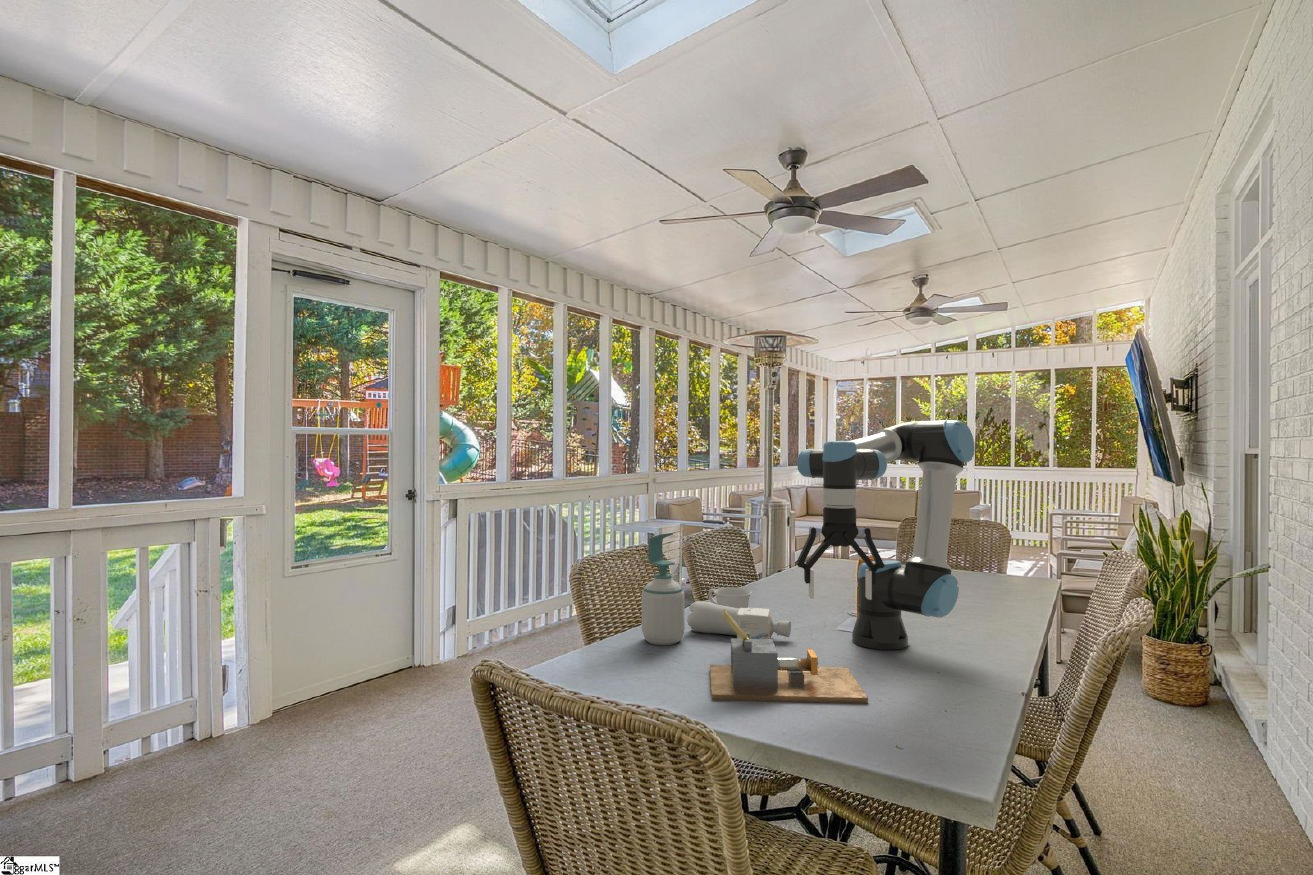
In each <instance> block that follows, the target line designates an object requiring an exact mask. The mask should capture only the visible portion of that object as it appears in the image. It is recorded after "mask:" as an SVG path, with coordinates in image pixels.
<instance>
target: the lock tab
mask: <svg viewBox="0 0 1313 875" xmlns="http://www.w3.org/2000/svg"><path fill="white" fill-rule="evenodd" d="M722 616H723V617H724V618H725V620H726V621H727V622H728V623H729V624H730V626H731V627H732V628H733V629H734V630H735V632H736V633H737V634H738V635H739V637H740V638H741V639H742V640H743V641H744V640H749V637H748V635H746V634H745V632H744V631H743V630H742V629H741V628H740V626H739V625H738V624H737V623H736V622H735V620H734V619H733V618H732V617H731V616H730V614H729V613H728V612H727V611H726V610H725V609H724V610H723V611H722Z"/></svg>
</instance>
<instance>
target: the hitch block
mask: <svg viewBox="0 0 1313 875" xmlns="http://www.w3.org/2000/svg"><path fill="white" fill-rule="evenodd" d="M745 634H746V635H748V637H749V632H745ZM778 658H779V657H778V651H777V649H776V645H775V644H774V641H773V638H769V639H749V640H744V641H743V640H742V639H737V638H730V664H726V665H725V664H709V675H710V689H711V690H710V691H711V701H735V702H736V701H739V702H740V701H743V702H744V701H748V702H783V703H785V702H786V703H787V702H791V703H792V702H793V703H797V702H798V703H835V704H837V703H838V704H868V703H869V697H868V696H867V695H866V692H865V691H864V689H862V687H861V686H860V684H859V682H858V681H857V680H856V678H855V677H854V675H853V674H852V672H851V671H850V669H849V668H848V667H845V666H844V667H840V666H838V667H837V666H834V667H833V666H818V675H811V673H810V672H803V671H778Z"/></svg>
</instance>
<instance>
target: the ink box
mask: <svg viewBox="0 0 1313 875" xmlns="http://www.w3.org/2000/svg"><path fill="white" fill-rule="evenodd" d="M769 614H770V608H761V607H759V608H758V607H748V608H740V609H739V611H738V613H737V624H738V625H739V626H740V628H741V629H742V630H743V631H744V632H749V639H770V638H769V632H770V622H769ZM736 639H741V638H740V637H739V635H738V634H737V635H736Z"/></svg>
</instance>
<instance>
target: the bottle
mask: <svg viewBox="0 0 1313 875" xmlns="http://www.w3.org/2000/svg"><path fill="white" fill-rule="evenodd" d="M724 609H725V610H726V611H727V612H728V613H729V614H730V616H731V617H732V618H733V619H734V620H735V622H736V623H737V613H738V611H739V608H733V607H728V606H722V605H717V604H714V603H712V602H711V601H710V602H709V601H702V600H701V601H700V600H696V601H695V602H692V603H691V604H690V606H689V610H690V611H689V612H691V613H690V614H688V615H687V625H688V626H689V628H690V629H691V630H693V631H694V632H696V633H704V634H720V635H726V636H727V635H729V636H737V633H736V632H735V630H734V629H733V628H732V627H731V626H730V624H729V623H728V622H727V621H726V620H725V618H724V617H723V616H722V611H723V610H724ZM769 622H770V632H769V639H771V638H772V636H773V634H774V633H775V634H776V636H781V637H786V638H790V636H791V631H792V625H791V624H792V623H791V621H790V620H780V619H778V621H775V620H774V616H773V615H771V613H769Z"/></svg>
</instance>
